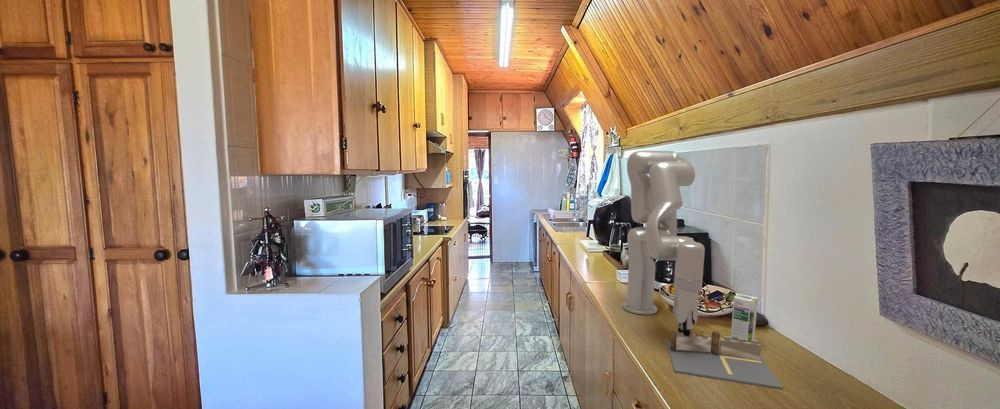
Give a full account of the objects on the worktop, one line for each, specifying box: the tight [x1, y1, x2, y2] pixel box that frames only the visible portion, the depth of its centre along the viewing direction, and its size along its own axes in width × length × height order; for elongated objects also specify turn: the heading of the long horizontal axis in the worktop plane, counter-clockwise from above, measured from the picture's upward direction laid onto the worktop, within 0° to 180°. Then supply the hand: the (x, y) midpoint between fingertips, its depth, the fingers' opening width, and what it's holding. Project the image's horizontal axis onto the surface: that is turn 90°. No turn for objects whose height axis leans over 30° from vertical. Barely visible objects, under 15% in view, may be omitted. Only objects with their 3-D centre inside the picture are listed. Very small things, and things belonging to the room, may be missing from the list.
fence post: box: [711, 330, 762, 361], centre depth 113 cm, size 2×12×7 cm, turn 73°
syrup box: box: [729, 293, 759, 343], centre depth 123 cm, size 6×6×14 cm
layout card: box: [666, 340, 784, 390], centre depth 110 cm, size 18×25×1 cm
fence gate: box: [670, 330, 712, 352], centre depth 115 cm, size 11×2×5 cm, turn 82°
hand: (683, 341), depth 118 cm, fingers closed
